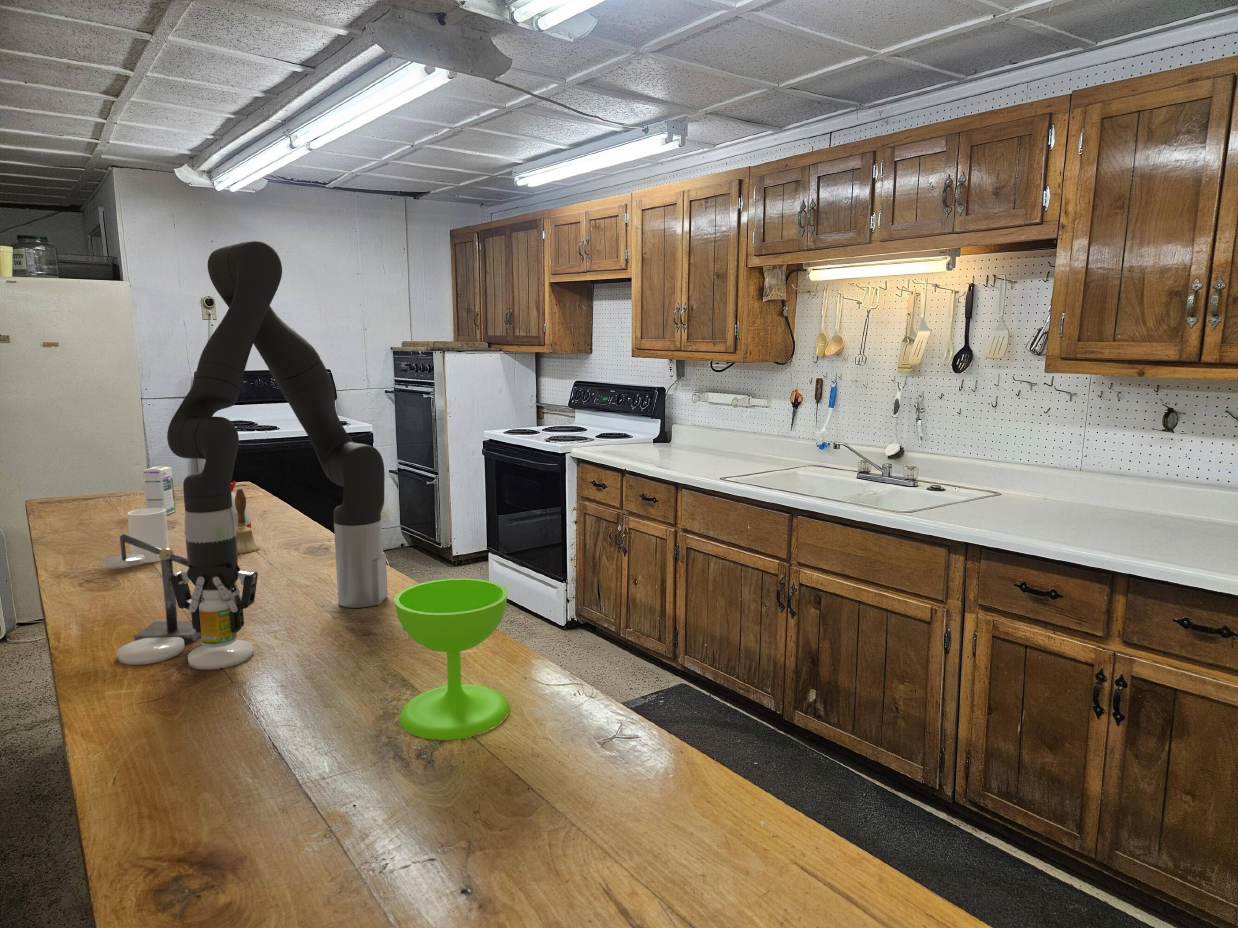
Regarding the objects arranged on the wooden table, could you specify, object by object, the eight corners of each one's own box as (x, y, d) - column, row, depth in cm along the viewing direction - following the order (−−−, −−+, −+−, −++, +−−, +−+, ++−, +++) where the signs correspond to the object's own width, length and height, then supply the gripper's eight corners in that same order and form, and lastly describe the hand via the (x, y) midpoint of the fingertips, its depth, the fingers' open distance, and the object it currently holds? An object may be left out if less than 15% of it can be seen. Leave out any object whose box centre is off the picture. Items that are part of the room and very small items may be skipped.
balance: (239, 627, 148) (232, 527, 145) (224, 641, 141) (216, 537, 138) (123, 630, 146) (113, 529, 143) (103, 644, 139) (91, 539, 136)
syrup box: (165, 515, 239) (161, 469, 236) (146, 515, 239) (142, 469, 237) (176, 511, 244) (172, 466, 242) (157, 511, 244) (153, 466, 242)
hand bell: (262, 544, 207) (258, 485, 204) (258, 552, 199) (254, 491, 197) (228, 546, 204) (223, 487, 202) (222, 555, 197) (218, 493, 194)
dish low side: (263, 646, 139) (262, 639, 139) (237, 669, 129) (236, 662, 129) (207, 646, 139) (206, 639, 139) (176, 669, 129) (175, 662, 129)
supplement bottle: (222, 649, 130) (218, 593, 129) (194, 646, 132) (189, 591, 130) (244, 637, 136) (240, 583, 134) (216, 635, 137) (212, 581, 135)
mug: (125, 555, 196) (120, 508, 194) (163, 549, 202) (159, 503, 200) (134, 565, 187) (130, 516, 186) (174, 558, 193) (170, 511, 191)
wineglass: (417, 687, 123) (412, 577, 120) (518, 689, 123) (516, 579, 120) (383, 738, 107) (377, 614, 104) (499, 741, 107) (496, 615, 104)
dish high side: (195, 641, 141) (195, 635, 141) (164, 664, 131) (164, 658, 131) (140, 641, 141) (139, 635, 141) (104, 664, 131) (104, 658, 131)
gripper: (264, 529, 134) (270, 623, 137) (180, 529, 134) (188, 623, 137) (243, 540, 127) (250, 639, 130) (155, 540, 127) (164, 639, 130)
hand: (218, 630), depth 133 cm, fingers closed on supplement bottle, 5 cm apart
